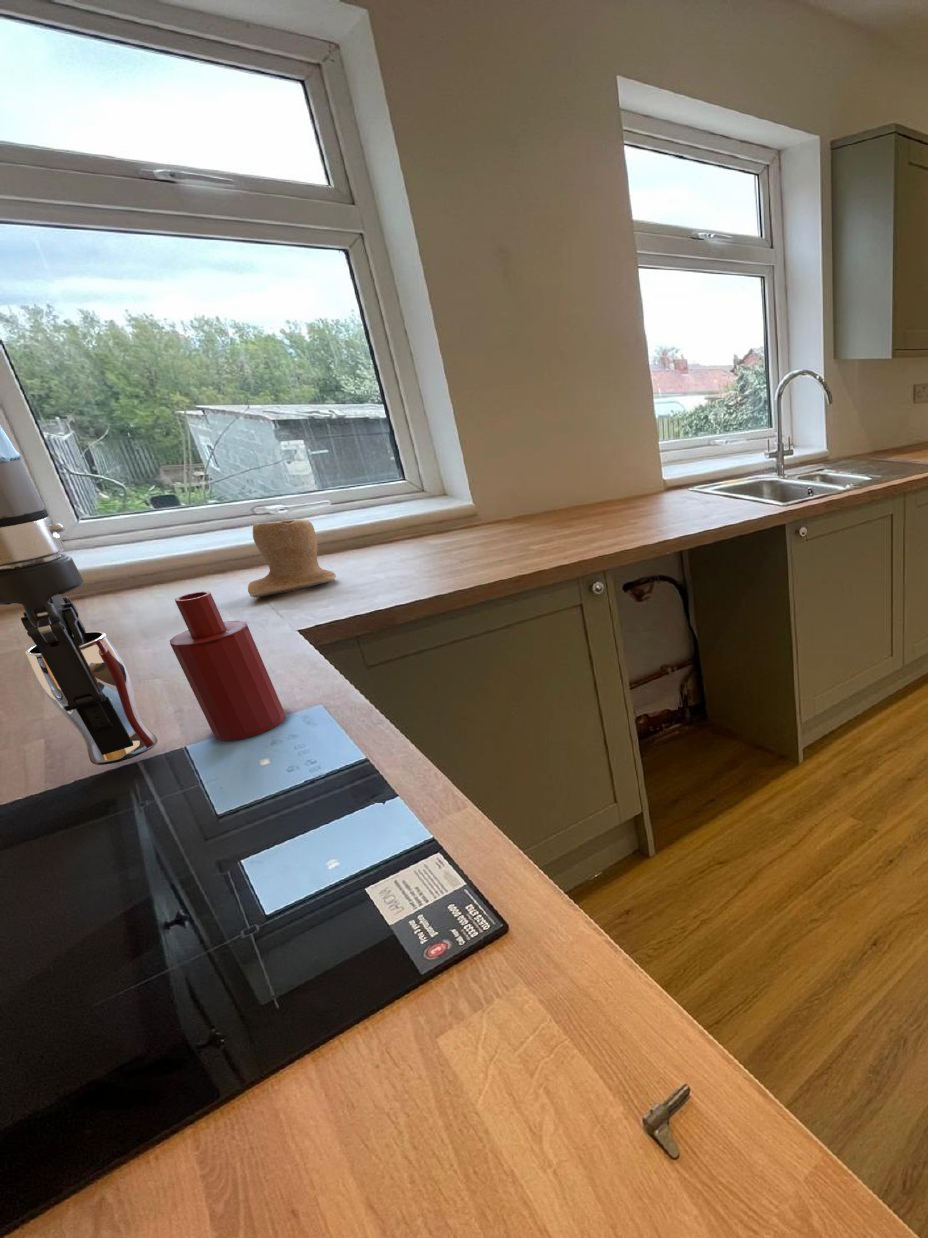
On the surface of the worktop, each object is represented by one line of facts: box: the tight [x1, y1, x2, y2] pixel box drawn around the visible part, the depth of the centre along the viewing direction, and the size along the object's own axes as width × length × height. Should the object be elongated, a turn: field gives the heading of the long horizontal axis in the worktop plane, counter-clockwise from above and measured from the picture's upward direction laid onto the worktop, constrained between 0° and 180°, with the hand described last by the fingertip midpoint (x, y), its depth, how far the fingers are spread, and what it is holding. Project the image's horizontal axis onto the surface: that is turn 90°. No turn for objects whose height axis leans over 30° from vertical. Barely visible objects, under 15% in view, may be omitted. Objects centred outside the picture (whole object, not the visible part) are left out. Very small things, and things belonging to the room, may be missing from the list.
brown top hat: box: [247, 518, 337, 598], centre depth 144 cm, size 15×12×15 cm
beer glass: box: [25, 630, 159, 766], centre depth 81 cm, size 7×7×15 cm
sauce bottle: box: [169, 590, 286, 742], centre depth 88 cm, size 8×8×19 cm
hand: (118, 738), depth 83 cm, fingers closed on beer glass, 6 cm apart
